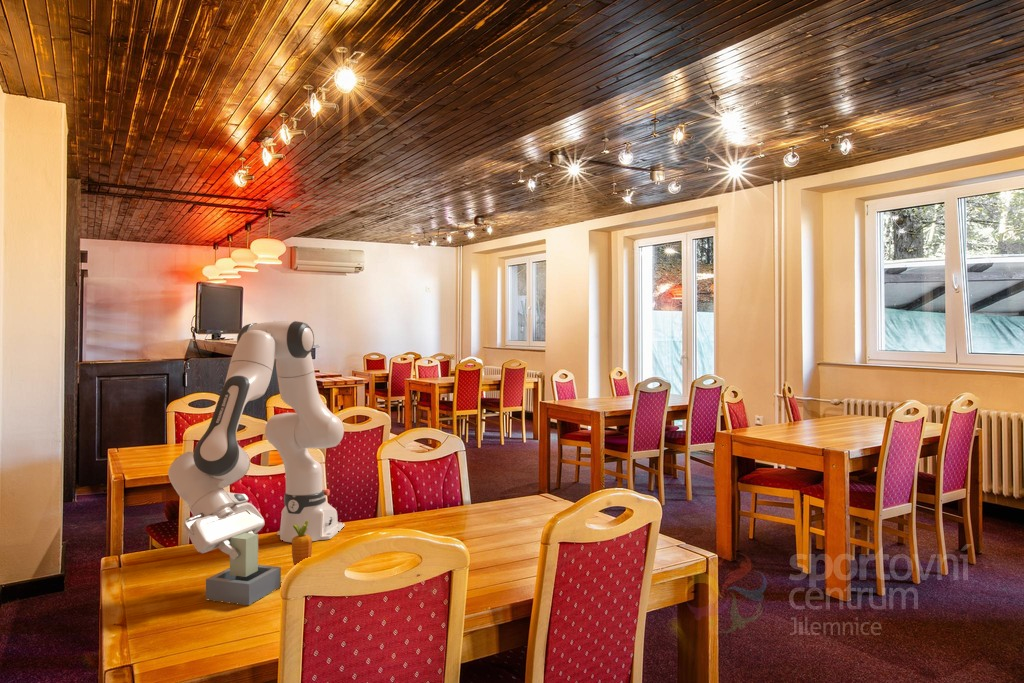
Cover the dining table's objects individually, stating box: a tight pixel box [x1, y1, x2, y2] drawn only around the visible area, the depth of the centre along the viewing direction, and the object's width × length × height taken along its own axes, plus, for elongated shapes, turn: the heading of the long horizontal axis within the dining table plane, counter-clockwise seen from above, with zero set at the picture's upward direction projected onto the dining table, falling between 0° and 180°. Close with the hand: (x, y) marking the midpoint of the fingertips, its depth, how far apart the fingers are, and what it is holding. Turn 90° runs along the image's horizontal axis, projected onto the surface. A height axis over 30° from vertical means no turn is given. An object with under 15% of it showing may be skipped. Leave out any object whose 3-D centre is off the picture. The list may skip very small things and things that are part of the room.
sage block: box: [229, 533, 259, 577], centre depth 156 cm, size 4×4×9 cm
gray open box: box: [205, 564, 282, 606], centre depth 156 cm, size 12×12×5 cm
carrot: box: [291, 520, 313, 566], centre depth 166 cm, size 5×5×15 cm
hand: (246, 553), depth 156 cm, fingers closed on sage block, 5 cm apart
